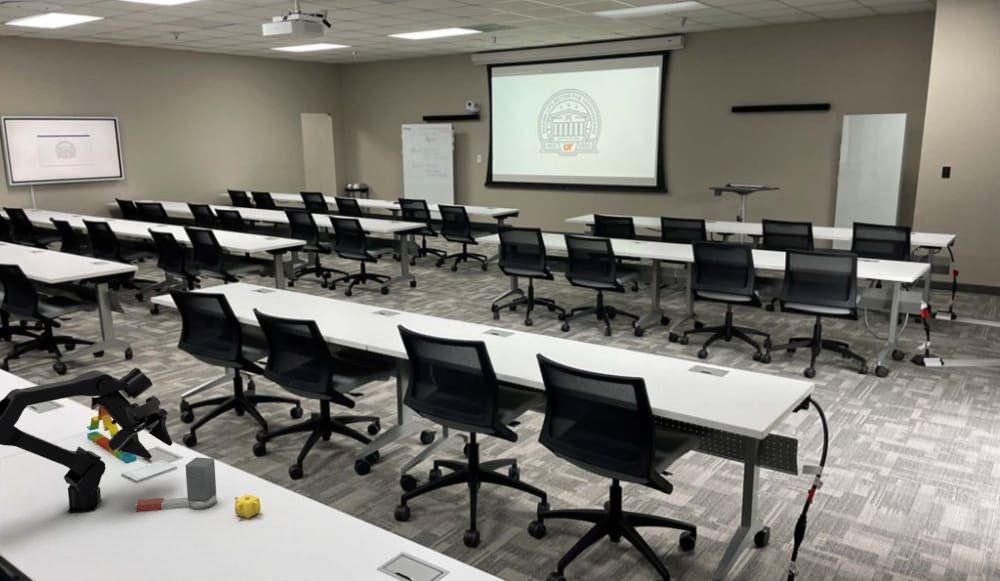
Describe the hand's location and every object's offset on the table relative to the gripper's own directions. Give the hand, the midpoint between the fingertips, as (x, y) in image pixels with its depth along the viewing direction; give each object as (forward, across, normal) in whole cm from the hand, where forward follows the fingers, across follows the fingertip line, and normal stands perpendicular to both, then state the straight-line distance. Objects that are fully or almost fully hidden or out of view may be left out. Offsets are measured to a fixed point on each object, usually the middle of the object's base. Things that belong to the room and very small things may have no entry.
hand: (161, 451), depth 195 cm
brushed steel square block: (+16, -1, 0) cm, 17 cm away
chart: (-16, +29, +36) cm, 49 cm away
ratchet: (+14, -3, +5) cm, 15 cm away
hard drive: (0, +15, +20) cm, 25 cm away
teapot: (+28, -5, -9) cm, 30 cm away
